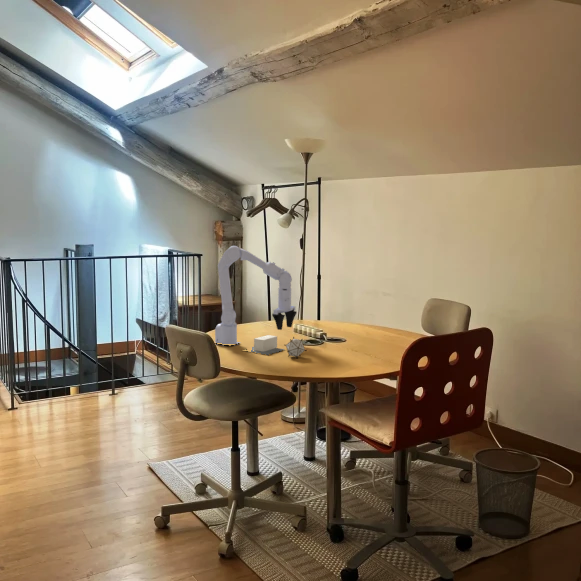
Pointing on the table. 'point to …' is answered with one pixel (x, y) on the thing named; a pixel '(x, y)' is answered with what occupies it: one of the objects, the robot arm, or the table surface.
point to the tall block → (265, 343)
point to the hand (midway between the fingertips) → (284, 328)
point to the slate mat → (267, 351)
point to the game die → (295, 347)
